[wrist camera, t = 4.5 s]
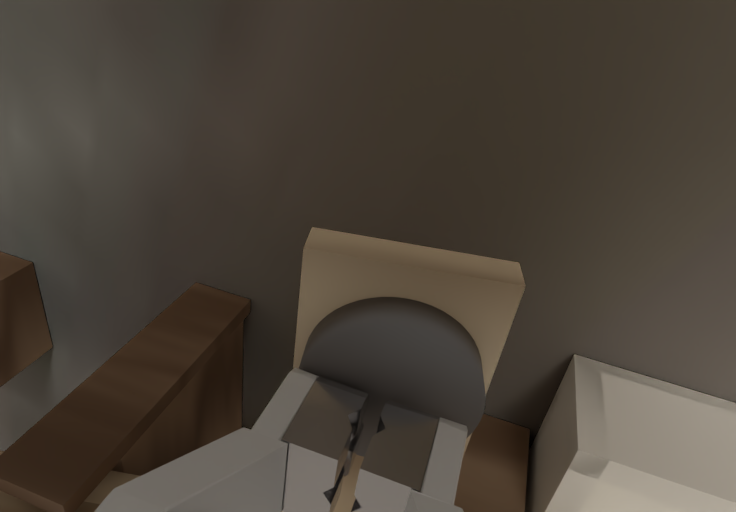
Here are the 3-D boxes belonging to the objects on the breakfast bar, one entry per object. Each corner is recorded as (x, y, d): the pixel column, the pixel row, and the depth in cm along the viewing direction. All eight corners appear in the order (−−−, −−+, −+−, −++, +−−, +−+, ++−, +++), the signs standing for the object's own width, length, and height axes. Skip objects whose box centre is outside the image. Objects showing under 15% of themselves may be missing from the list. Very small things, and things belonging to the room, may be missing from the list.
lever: (-584, 70, 10) (-1085, 133, 7) (621, 277, 10) (721, 452, 7) (-232, 513, 18) (-385, 645, 15) (449, 637, 18) (454, 801, 14)
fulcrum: (-32, 209, 23) (-331, 333, 15) (545, 394, 18) (536, 712, 10) (11, 355, 27) (-202, 508, 20) (482, 534, 22) (443, 828, 15)
